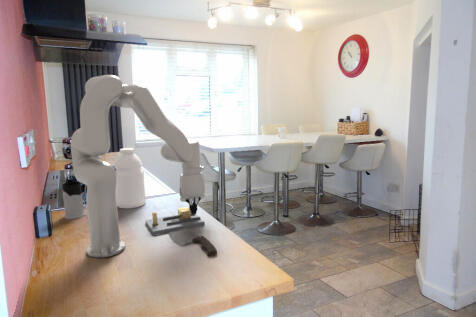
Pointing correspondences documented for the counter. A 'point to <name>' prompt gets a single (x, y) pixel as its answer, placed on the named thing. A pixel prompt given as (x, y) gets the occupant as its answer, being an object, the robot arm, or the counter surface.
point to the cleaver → (192, 240)
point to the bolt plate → (172, 223)
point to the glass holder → (73, 200)
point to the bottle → (129, 180)
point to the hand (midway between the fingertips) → (193, 213)
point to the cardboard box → (184, 213)
